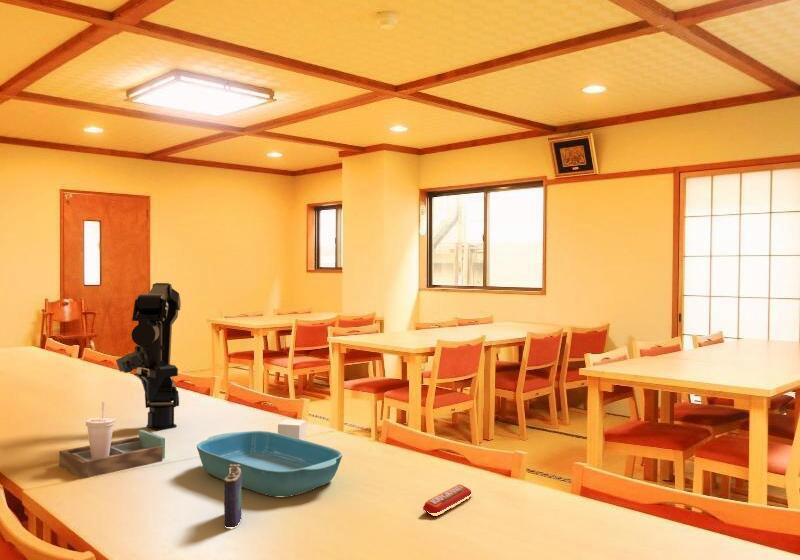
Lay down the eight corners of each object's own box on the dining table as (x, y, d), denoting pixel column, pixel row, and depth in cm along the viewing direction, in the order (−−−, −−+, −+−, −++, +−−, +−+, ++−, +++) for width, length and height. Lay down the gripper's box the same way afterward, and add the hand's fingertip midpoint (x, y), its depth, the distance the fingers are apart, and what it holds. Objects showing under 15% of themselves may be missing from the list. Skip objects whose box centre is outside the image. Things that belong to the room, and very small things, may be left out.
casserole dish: (360, 483, 150) (361, 451, 150) (287, 511, 133) (287, 475, 133) (253, 453, 173) (253, 425, 173) (178, 473, 155) (178, 442, 155)
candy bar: (435, 521, 129) (435, 506, 129) (419, 517, 131) (419, 501, 131) (474, 498, 142) (475, 484, 142) (460, 494, 144) (460, 481, 144)
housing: (136, 450, 173) (136, 436, 173) (162, 460, 164) (162, 446, 164) (59, 465, 158) (59, 451, 158) (82, 478, 150) (82, 462, 150)
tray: (142, 448, 173) (142, 429, 173) (164, 458, 165) (165, 438, 165) (70, 463, 160) (70, 442, 159) (91, 474, 152) (91, 452, 152)
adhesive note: (277, 446, 179) (277, 424, 179) (284, 440, 185) (285, 419, 185) (299, 447, 178) (299, 425, 178) (305, 441, 184) (305, 420, 184)
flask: (228, 511, 131) (229, 457, 131) (243, 510, 132) (244, 457, 132) (222, 530, 122) (223, 472, 122) (238, 529, 123) (239, 471, 122)
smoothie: (112, 463, 157) (113, 403, 157) (83, 464, 155) (83, 405, 155) (116, 455, 163) (116, 398, 163) (87, 457, 161) (88, 399, 161)
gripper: (104, 340, 177) (104, 399, 178) (138, 347, 165) (137, 410, 165) (144, 338, 186) (144, 393, 186) (179, 344, 173) (178, 403, 173)
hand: (149, 400), depth 177 cm, fingers closed
